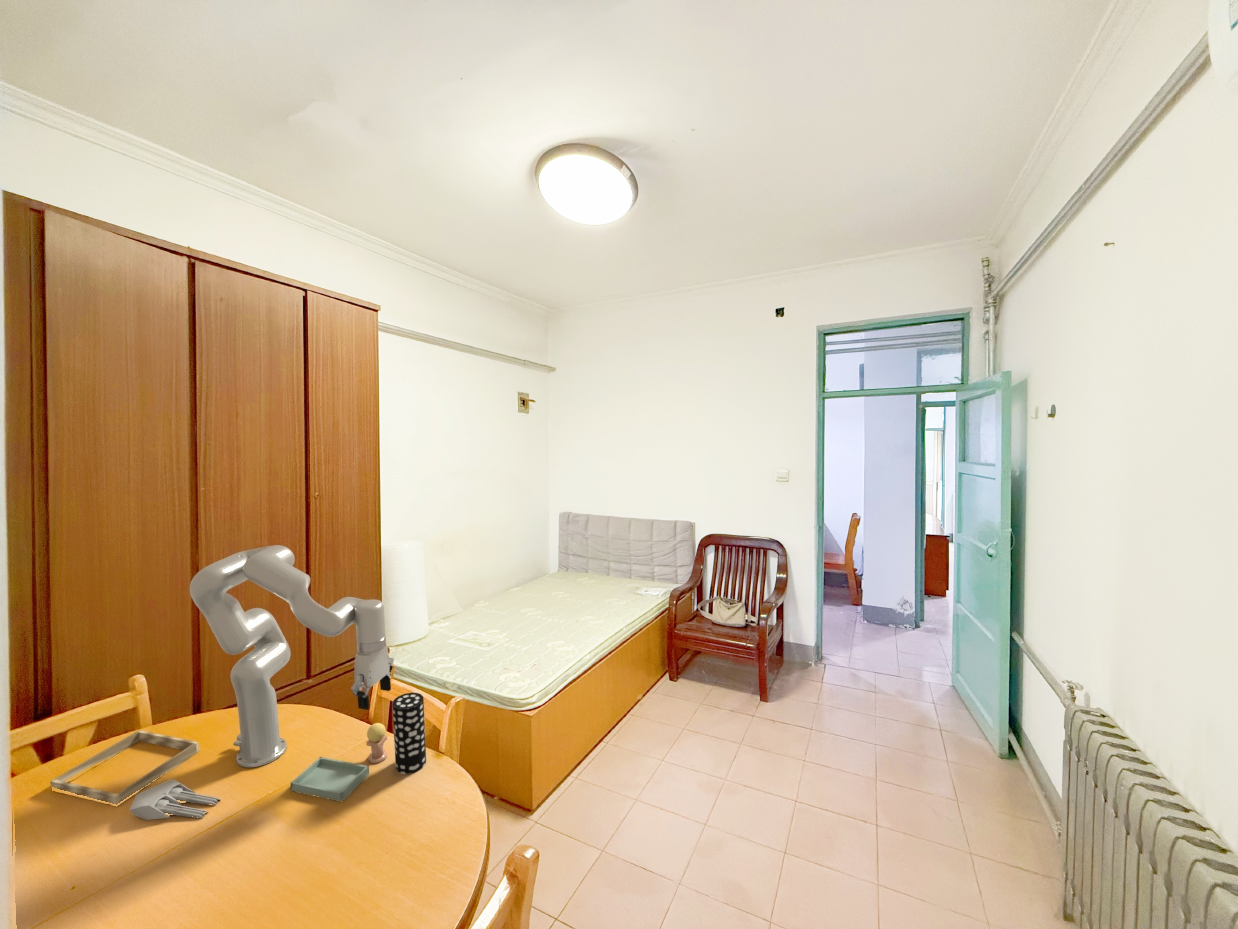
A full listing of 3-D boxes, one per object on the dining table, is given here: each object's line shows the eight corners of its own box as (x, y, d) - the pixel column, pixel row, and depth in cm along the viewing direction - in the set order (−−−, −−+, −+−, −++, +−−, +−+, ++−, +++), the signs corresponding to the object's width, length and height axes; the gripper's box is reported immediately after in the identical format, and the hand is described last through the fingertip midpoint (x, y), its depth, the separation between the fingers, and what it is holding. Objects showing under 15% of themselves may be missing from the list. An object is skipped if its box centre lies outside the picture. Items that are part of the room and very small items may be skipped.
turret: (196, 833, 141) (197, 816, 140) (118, 819, 141) (119, 802, 140) (225, 803, 151) (226, 787, 150) (153, 789, 151) (153, 774, 150)
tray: (291, 791, 152) (290, 783, 152) (321, 764, 163) (320, 756, 162) (342, 802, 149) (341, 794, 148) (369, 773, 159) (368, 766, 159)
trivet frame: (51, 791, 151) (50, 781, 150) (140, 739, 173) (138, 730, 172) (116, 807, 146) (115, 796, 145) (199, 751, 167) (198, 742, 167)
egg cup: (364, 761, 164) (363, 743, 163) (375, 750, 169) (374, 732, 168) (379, 764, 163) (378, 746, 162) (390, 753, 168) (389, 735, 167)
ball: (363, 744, 163) (362, 728, 162) (374, 733, 168) (374, 718, 167) (378, 747, 162) (378, 731, 161) (389, 736, 167) (388, 720, 166)
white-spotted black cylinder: (416, 776, 159) (413, 711, 156) (389, 771, 160) (386, 707, 157) (431, 756, 167) (429, 694, 164) (406, 752, 168) (403, 691, 165)
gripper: (379, 629, 169) (382, 681, 172) (338, 656, 153) (343, 714, 155) (401, 631, 168) (404, 685, 170) (362, 660, 151) (366, 718, 154)
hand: (375, 699), depth 163 cm, fingers open, 9 cm apart
